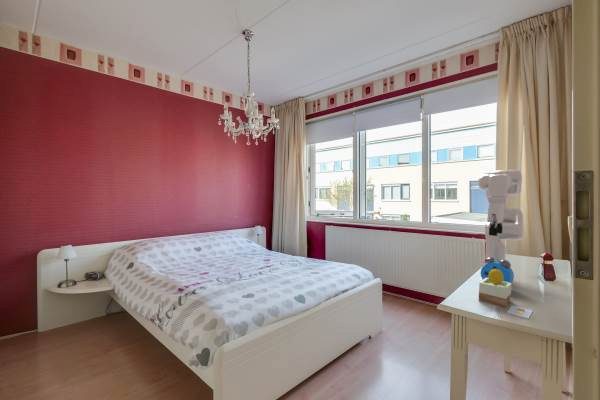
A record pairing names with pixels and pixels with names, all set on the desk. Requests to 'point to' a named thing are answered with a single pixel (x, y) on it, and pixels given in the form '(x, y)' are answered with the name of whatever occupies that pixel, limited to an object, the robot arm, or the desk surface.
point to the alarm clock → (500, 265)
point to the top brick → (495, 288)
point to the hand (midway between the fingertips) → (495, 234)
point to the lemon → (496, 277)
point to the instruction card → (520, 312)
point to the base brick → (494, 300)
